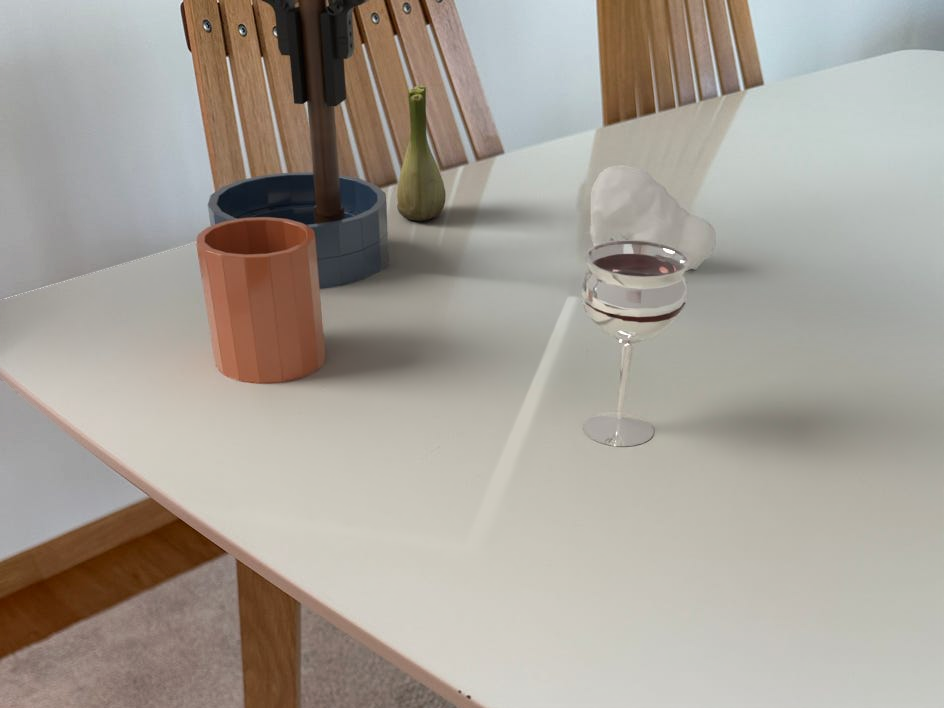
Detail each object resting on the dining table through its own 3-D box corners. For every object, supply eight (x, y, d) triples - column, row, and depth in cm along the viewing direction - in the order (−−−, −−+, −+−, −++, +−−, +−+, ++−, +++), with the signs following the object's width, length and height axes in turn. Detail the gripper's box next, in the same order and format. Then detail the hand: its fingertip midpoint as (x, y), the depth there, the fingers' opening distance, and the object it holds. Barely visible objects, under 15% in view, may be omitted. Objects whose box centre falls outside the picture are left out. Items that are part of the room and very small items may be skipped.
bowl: (189, 288, 92) (178, 218, 88) (256, 230, 104) (249, 166, 100) (359, 306, 89) (354, 235, 86) (408, 244, 101) (406, 179, 97)
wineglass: (583, 400, 77) (597, 234, 69) (674, 414, 75) (699, 246, 67) (559, 443, 72) (572, 269, 64) (657, 460, 70) (682, 284, 62)
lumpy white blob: (598, 153, 95) (729, 174, 94) (582, 246, 100) (705, 267, 100) (593, 173, 90) (731, 195, 90) (577, 270, 96) (706, 292, 95)
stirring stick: (313, 243, 93) (290, -19, 80) (321, 235, 95) (299, -23, 82) (341, 246, 93) (322, -17, 80) (349, 237, 94) (331, -22, 82)
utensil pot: (199, 386, 77) (176, 250, 71) (242, 341, 84) (224, 212, 77) (304, 398, 76) (290, 261, 70) (340, 352, 82) (330, 222, 76)
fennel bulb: (415, 205, 110) (412, 79, 103) (456, 213, 109) (456, 85, 101) (387, 221, 106) (381, 91, 99) (429, 229, 105) (427, 97, 97)
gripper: (412, -274, 73) (420, 96, 88) (209, -276, 75) (251, 85, 91) (381, -278, 67) (396, 118, 82) (163, -280, 70) (216, 105, 85)
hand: (320, 100), depth 86 cm, fingers closed on stirring stick, 2 cm apart
